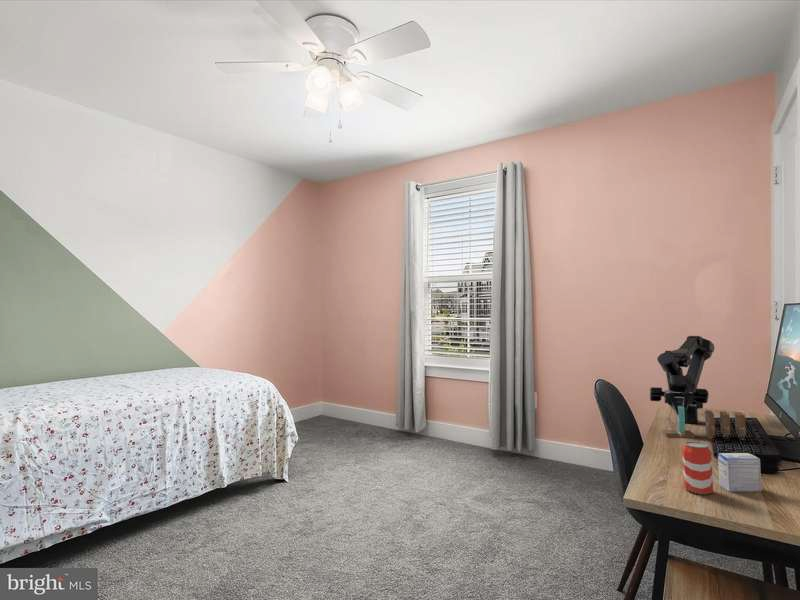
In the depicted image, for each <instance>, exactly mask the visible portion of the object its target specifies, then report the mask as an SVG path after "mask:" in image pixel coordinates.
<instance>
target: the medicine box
mask: <svg viewBox="0 0 800 600" xmlns="http://www.w3.org/2000/svg"><path fill="white" fill-rule="evenodd" d="M717 460H718V461H717V463H718V464H717V465H718V481H719V482H718V483H719V486H720V487H721V488H723V489H725V491H728V492H762V477H761V476H762V475H761V472H762V471H761V459H760V457H757V456H755V455H754V454H751V453H749V452H725V453H724V452H720V453H719V452H718V453H717Z"/></svg>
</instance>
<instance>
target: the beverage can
mask: <svg viewBox="0 0 800 600" xmlns="http://www.w3.org/2000/svg"><path fill="white" fill-rule="evenodd" d="M681 455H682V473H683V474H682V475H683V477H682V478H683V487H684V488H685V489H686V490H688V491H689V492H690V491H691V492H690V493H693V492H694V493H693V494H696V493H698V494H697V495H708V494H710V493H712V492H713V491H714V480H713V479H714V478H713V457H712V451H711V449H710V448H709V445H708V444H707V443H705V442H701V441H693V440H691V441H690V440H689V441H685V442H684V445H683V446H682V448H681Z"/></svg>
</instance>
